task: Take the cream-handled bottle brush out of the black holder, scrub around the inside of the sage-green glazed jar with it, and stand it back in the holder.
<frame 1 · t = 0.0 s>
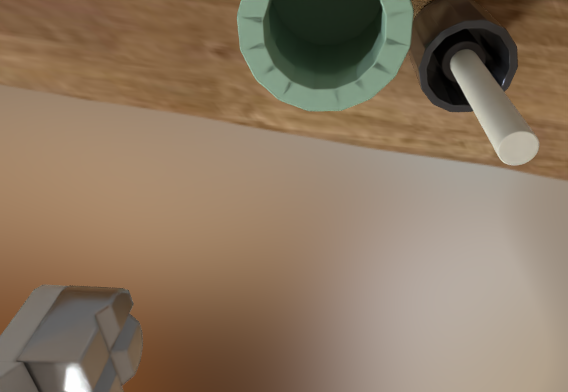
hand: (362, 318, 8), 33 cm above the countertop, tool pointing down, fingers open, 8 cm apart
holder: (447, 37, 37), on the countertop
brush: (449, 40, 37), point 1 cm above the countertop, touching holder
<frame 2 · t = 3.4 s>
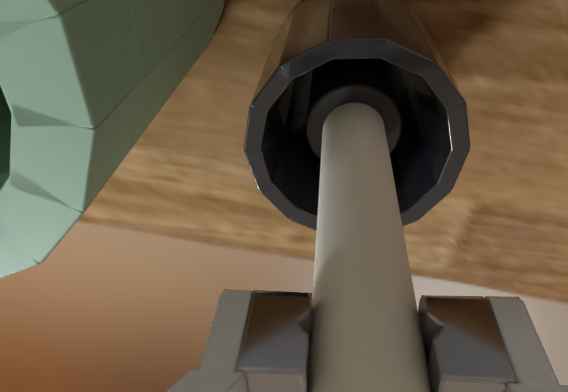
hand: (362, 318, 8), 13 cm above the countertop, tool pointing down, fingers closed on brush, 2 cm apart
holder: (349, 64, 19), on the countertop
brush: (349, 71, 19), point 1 cm above the countertop, touching gripper, holder
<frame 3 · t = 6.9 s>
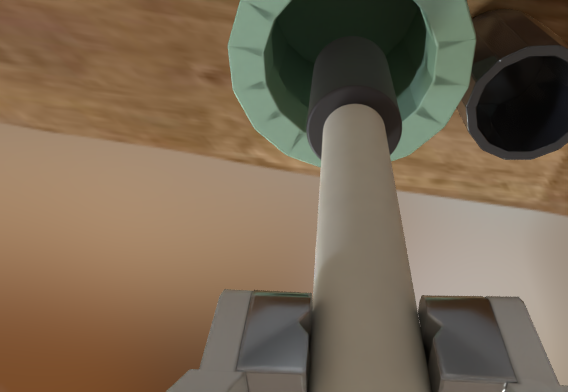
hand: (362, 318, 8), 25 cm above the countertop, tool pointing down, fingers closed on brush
holder: (493, 59, 30), on the countertop
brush: (350, 72, 19), point 12 cm above the countertop, touching gripper
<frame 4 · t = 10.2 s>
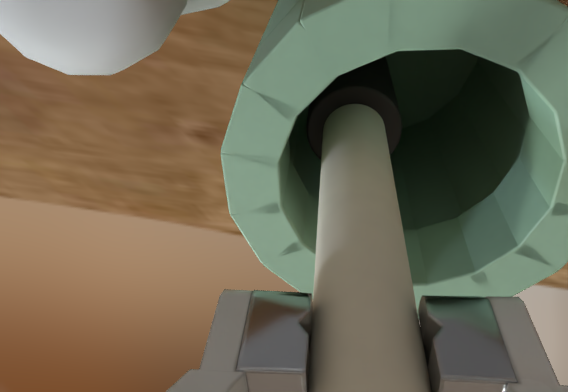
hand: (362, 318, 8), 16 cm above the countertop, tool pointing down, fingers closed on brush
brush: (350, 72, 19), point 4 cm above the countertop, touching gripper
jar: (379, 38, 22), on the countertop
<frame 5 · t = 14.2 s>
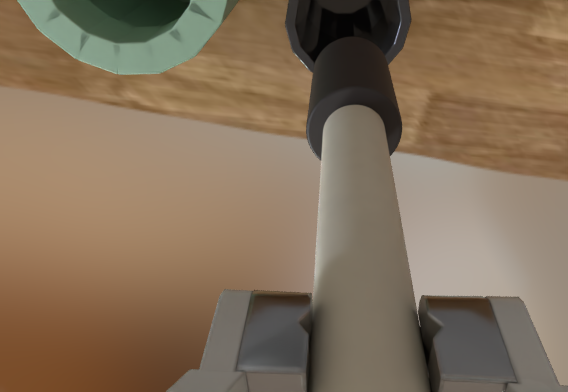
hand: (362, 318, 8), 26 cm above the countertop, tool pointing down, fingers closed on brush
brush: (350, 73, 19), point 14 cm above the countertop, touching gripper
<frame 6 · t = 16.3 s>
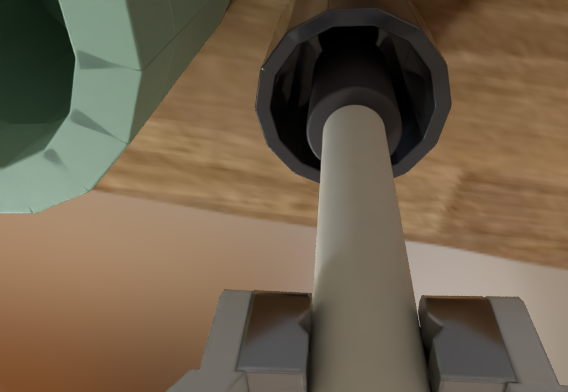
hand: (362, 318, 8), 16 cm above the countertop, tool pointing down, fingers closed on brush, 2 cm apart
holder: (347, 41, 21), on the countertop
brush: (350, 73, 19), point 3 cm above the countertop, touching gripper
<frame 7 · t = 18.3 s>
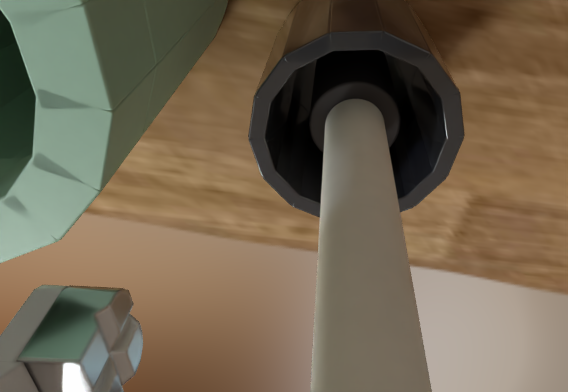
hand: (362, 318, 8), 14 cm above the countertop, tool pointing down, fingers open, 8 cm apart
holder: (349, 59, 20), on the countertop
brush: (351, 70, 19), point 1 cm above the countertop, touching holder
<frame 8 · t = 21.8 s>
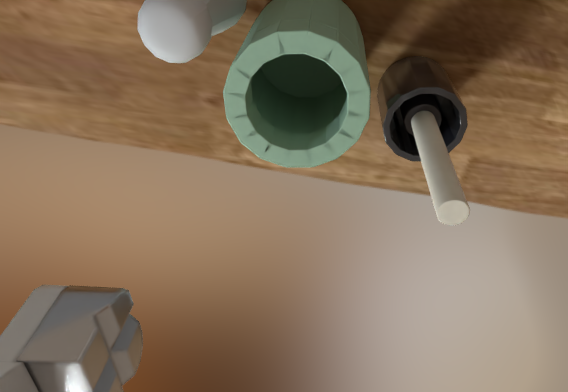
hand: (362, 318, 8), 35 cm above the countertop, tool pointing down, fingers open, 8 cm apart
holder: (412, 90, 42), on the countertop
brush: (414, 95, 42), point 1 cm above the countertop, touching holder
jar: (306, 46, 41), on the countertop
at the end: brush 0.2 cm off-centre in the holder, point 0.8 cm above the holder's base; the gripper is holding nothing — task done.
